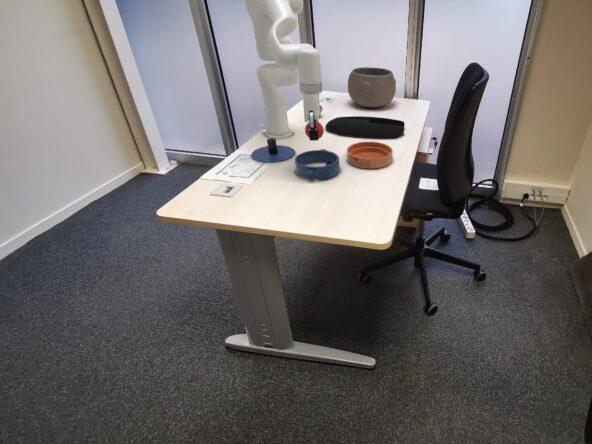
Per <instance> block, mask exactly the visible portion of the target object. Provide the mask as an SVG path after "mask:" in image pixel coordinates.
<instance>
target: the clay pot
mask: <svg viewBox="0 0 592 444" xmlns="http://www.w3.org/2000/svg"><path fill="white" fill-rule="evenodd" d="M396 84H397V80H396V78H395V76H394V73H393V71H392V70H390V69H387V68H382V67H371V66H370V67H368V66H364V67H363V66H362V67H356V68H353V69H352V70H351V71H350V73H349V75H348V78H347V93H348V95H349V98H350V99H351V100H352V101H353V102H354V103H355V104H357V105H359V106H360V107H364V108H368V109H369V108H370V109H377V108H383V107H385V106H387V105H388V104H391V102H392V101H393V99H394V97H395V95H396V91H397V85H396Z"/></svg>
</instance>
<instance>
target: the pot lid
mask: <svg viewBox="0 0 592 444" xmlns="http://www.w3.org/2000/svg"><path fill="white" fill-rule="evenodd" d="M266 144H267V145H266V146H265V145H264V146H261V147H258V148H256V149H255V150H253V151H251V155H250V156H251V159H252V160H254V161H256V162H259V163H264V164H274V163H275V164H276V163H281V162H287V161H288V160H290V159H292V158H294V157H295V156H296V150H295V149H294V148H293V147H291V146H288V145H281V144H277V138H272V137H268V138H267V139H266Z"/></svg>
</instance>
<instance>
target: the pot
mask: <svg viewBox="0 0 592 444" xmlns="http://www.w3.org/2000/svg"><path fill="white" fill-rule="evenodd" d="M312 163H325V164H324V165H322V166H309V165H308V164H312ZM294 164H295V172H296V175H298V176H299V177H301V178H302V179H306V180H315V181H316V180H317V182H318V181H319V182H320V181H327V180H330V179H333V178H335V177H336V176H338V175H339V174H340V170H341V166H340V165H341V164H340V155H338V154H336V153H335V152H333V151H330V150H327V149H325V148H320V149H315V150H314V149H313V150H312V149H311V150H307V151H303V152H300V153H299V154H296V155H295V158H294Z"/></svg>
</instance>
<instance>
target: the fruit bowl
mask: <svg viewBox="0 0 592 444" xmlns="http://www.w3.org/2000/svg"><path fill="white" fill-rule="evenodd" d="M393 153H394V151H393V148H392V147H391V146H390V145H388V144H385V143H383V142H378V141H359V142H355V143H353V144H351V145H349V146H347V149H346V159H347V162H348V163H349V164H350V165H352V166H355V167H357V168H362V169H379V168H384V167H387V166H388V165H390V164H391V163H392V162H393V155H394V154H393Z"/></svg>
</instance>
